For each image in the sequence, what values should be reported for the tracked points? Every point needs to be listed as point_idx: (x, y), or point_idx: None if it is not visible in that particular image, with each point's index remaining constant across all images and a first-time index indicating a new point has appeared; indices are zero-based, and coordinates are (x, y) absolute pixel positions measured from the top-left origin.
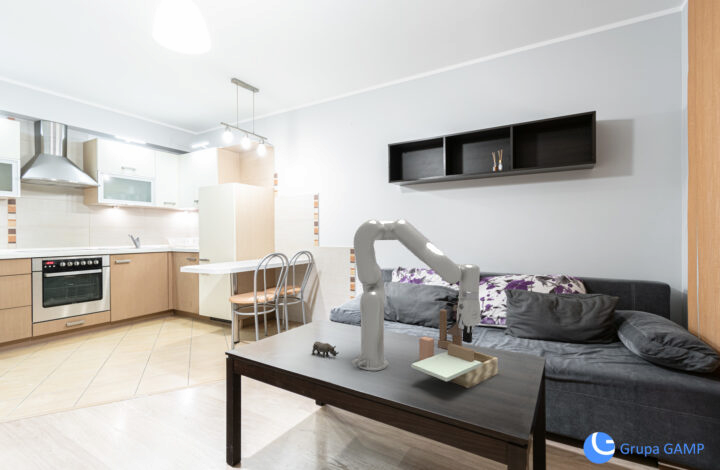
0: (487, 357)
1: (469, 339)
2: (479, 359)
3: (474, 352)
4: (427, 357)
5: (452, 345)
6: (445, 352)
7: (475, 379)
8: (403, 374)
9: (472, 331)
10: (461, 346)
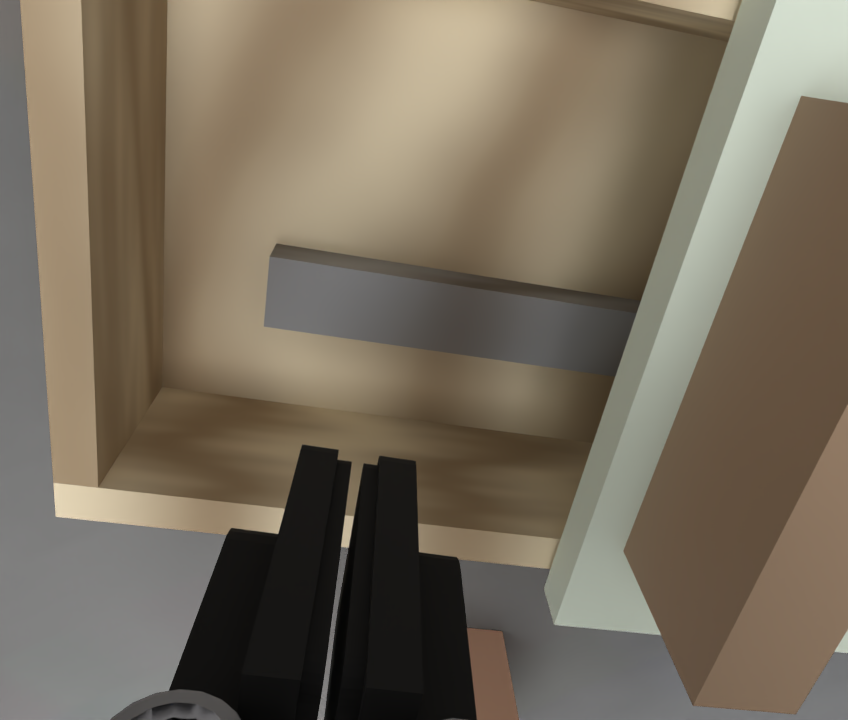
0: (94, 56)
1: (413, 523)
2: (131, 215)
3: (94, 343)
4: (513, 701)
5: (836, 633)
6: (620, 617)
7: None
8: (842, 659)
9: (144, 716)
10: (812, 486)
